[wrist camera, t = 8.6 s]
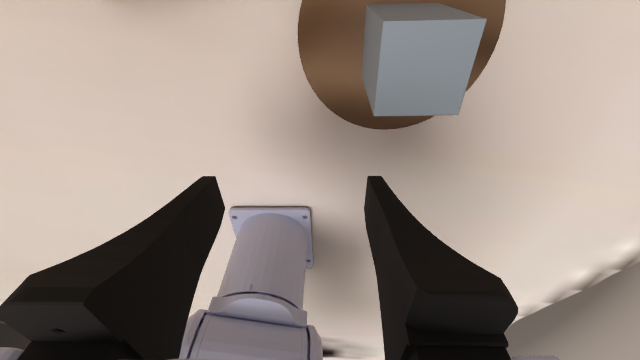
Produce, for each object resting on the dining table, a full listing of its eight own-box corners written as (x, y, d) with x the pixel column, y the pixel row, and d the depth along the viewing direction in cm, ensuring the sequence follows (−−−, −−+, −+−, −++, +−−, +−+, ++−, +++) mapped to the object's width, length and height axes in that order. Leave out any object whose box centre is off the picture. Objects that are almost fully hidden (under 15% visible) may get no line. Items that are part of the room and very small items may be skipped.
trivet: (460, 119, 21) (468, 128, 20) (304, 121, 22) (303, 130, 21) (528, -100, 14) (546, -106, 13) (292, -92, 14) (289, -97, 13)
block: (423, 75, 18) (458, 115, 13) (361, 76, 18) (373, 116, 13) (438, 2, 16) (486, 19, 11) (366, 4, 16) (383, 21, 11)
